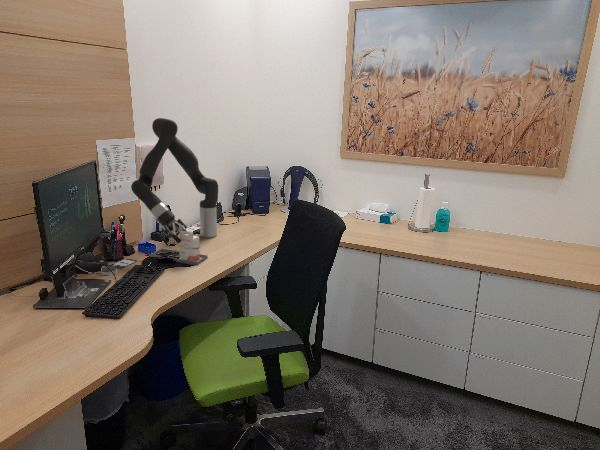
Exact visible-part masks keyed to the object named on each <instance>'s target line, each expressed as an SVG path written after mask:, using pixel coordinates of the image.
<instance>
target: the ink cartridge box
mask: <svg viewBox="0 0 600 450" xmlns="http://www.w3.org/2000/svg"><path fill="white" fill-rule="evenodd" d="M184 233H185V234H184ZM186 233H187V234H186ZM188 234H189V235H188ZM179 238H180V239H181V242H180V243H179V251H180V259H183V260H189V261H197V260H199V259H200V254H201V252H200V247H201V246H200V236H198V235H194V233H193V232H190V231H187V230H186V231H182V229H181V230H180V231H179Z"/></svg>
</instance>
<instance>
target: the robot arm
mask: <svg viewBox="0 0 600 450" xmlns="http://www.w3.org/2000/svg"><path fill="white" fill-rule="evenodd" d="M151 128H152V130H153V134H154V135H155V136H156V137H157V138H158V140H157V141H156V144H155V145H154V146H153V148H152V149H151V150H150V151H149V152H148V153H147V155H146V156H144V157H145V158H144V159H143V161H142V164H141V167H140V169H139V178H138V179H136V180H134V181H133V182H132V183H131V186H130V188H131V191H132V192H133V194H134V195H135V196H136V197H137V198H138V199H139V200H140V201H141V202H143V204H144V205H145V207H146V209H148V210H149V212H150V213H151V214H152V216H153V217H154V218H155V219H156V221H157V222H158V223H159V224H160V225H161V226H162V227H161V230H162V231H163V233H164V234H165V235H166V236H167V238H168V239H170V238H172V239H173V240H174V241H175V242H176V243H177V244H180V242H181V239H180V236H178V234H176V231H177V232H180V230H182V231H187V229H188V226H187V225H186V224H185V222H183V220H182V219H181V218H178V219H177V220H176V219H175V218H176V217H175V215H174V213H173V212H172V211H171V210H170V209H169V207H168V206H167V205H166V204H164V202H162V200H161V199H160V197H158V195H156V194H155V193H154V192H153V191H152V190H151V189H152V185H153V180H154V177H155V175H156V173H157V170H158V168H159V165H160V163H161V160H162V159H163V157H164V155H165V154H166V152H167V150H169V152H170V154H171V155H172V156H173V157H174V159H175V160H176V161H177V163H178V164H179V166H181V167H180V168H182V169H183V171H184V172H185V173H186V174H187V176H188V177H189V179H190V180H191V181H192V183H193V185H194V188H196V190H197V192H199V193H200V194H202V195H203V194H204V199H202V200H200V201H199V223H200V224H199V228H200V229H199V233H200V235H199V237H201V238H209V239H211V238H215V237H217V234H218V231H217V230H218V219H217V218H218V217H217V203H218V199H219V183H218V181H217V180H216V179H214V178H211V177H206V176H205V175H204V174H203V173H202V172H201V170H200V167H199V161H198V158H197V156H196V154H194V151H192V150H191V148H190V147H188V146H187V145H186V144H185V142H182V141H181V140H180V139H179V138H178V137H177V136H176V135H177V134H178V129H179V127H178V125H177V123H176V122H175V121H174V120H172V119H167V118H164V117H163V118H162V117H159V118H155V119H154V120H153V121H152V125H151ZM184 234H185V233H184ZM186 234H187V233H186ZM188 235H189V234H188Z"/></svg>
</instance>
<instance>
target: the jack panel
mask: <svg viewBox="0 0 600 450" xmlns="http://www.w3.org/2000/svg"><path fill="white" fill-rule="evenodd" d="M162 252H163V253H168V252H176V253H179V254H177V255H176V256H177V257H180V250H174V249H167V248H164V247H163V248H160V249H158V250H156V251H154V252H152V253H150V254H149V258H150V257H161V256H162V255H159V254H160V253H162ZM158 253H159V254H158ZM155 254H157V255H155ZM208 258H209V256H208V254H207V255H206V254H201V253H200V259H199V260H197V261H189V260H183V259H180V258H179V259H177V258H175V261H176V262H175V263H180V264H181V263H182V264H187V265H192V266H193V265H194V266H199V265H200V264H201V263H203V262H205V261H206V260H207V259H208Z"/></svg>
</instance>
